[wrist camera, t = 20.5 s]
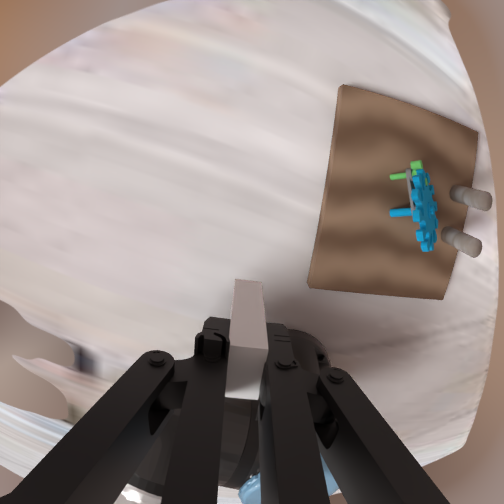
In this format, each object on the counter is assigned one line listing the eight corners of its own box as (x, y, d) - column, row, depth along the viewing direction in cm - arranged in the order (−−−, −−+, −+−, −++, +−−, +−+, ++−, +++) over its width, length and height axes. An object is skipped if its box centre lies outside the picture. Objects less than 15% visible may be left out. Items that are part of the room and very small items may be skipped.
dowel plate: (436, 294, 43) (466, 321, 34) (307, 282, 42) (320, 313, 33) (470, 132, 35) (509, 132, 26) (338, 87, 34) (362, 70, 25)
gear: (444, 242, 36) (428, 262, 30) (406, 243, 41) (381, 262, 34) (434, 160, 34) (416, 158, 28) (395, 165, 39) (367, 166, 32)
